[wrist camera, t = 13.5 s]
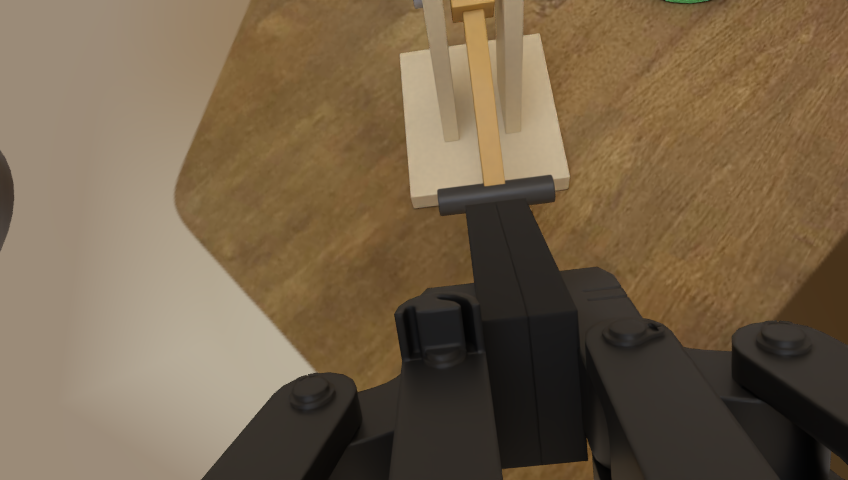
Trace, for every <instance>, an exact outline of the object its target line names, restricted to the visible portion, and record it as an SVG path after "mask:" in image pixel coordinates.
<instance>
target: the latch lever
mask: <svg viewBox="0 0 848 480" xmlns="http://www.w3.org/2000/svg"><path fill="white" fill-rule="evenodd" d="M450 4H451V12H452V20H453V23H456V22H463V23H464V31H465V39H466V47H467V56H468V64H469V72H470V80H471V88H472V96H473V104H474V113H475V121H476V129H477V137H478V145H479V153H480V161H481V169H482V178H483V183H481V184H473V185H465V186H458V187H450V188H442V189H438V190H437V196H438V205H439V212H440V215H441V216H447V215H455V214H463V213H466V210H465V205H473V204H481V203H489V202H497V201H505V200H513V199H521V198H525V199H526V201H527V203H528V205H534V204H542V203H550V202H554V201H555V185H554V180H553V177H552V175H543V176H535V177H528V178H520V179H512V180H505V177H504V169H503V160H502V152H501V144H500V136H499V128H498V120H497V112H496V103H495V95H494V87H493V79H492V71H491V63H490V55H489V46H488V38H487V30H486V22H485V18H490V17H493V14H494V5H495V0H450Z"/></svg>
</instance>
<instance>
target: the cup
mask: <svg viewBox="0 0 848 480" xmlns="http://www.w3.org/2000/svg"><path fill="white" fill-rule="evenodd" d="M665 1H669V2H678V3H696V2H703V1H708V0H665Z"/></svg>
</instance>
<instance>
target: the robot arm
mask: <svg viewBox="0 0 848 480" xmlns="http://www.w3.org/2000/svg"><path fill="white" fill-rule="evenodd" d="M465 210H466V218H467V226H468V235H469V243H470V251H471V260H472V268H473V276H474V283H470V284H461V285H453V286H444V287H436V288H427V289H426V290H425V291H424V292H423V293H422V294H421V295H420V296H418V297H415V298H412V299H410V300H408V301H406V302H405V303H403V304H402V305H400V306H399V307H398V309H397V310H396V312H395V314H394V315H395V321H396V327H397V333H398V339H399V345H400V351H401V357H402V368H401V374H400V375H399V376H397V377H396V378H394V379H393V380H391V381H389V382H387V383H385V384H382V385H379V386H377V387H374V388H371V389H367V390H364V391H361V392H357V387H356V385H355V383H354V381H353V379H351V378H349V377H347V376H345V375H344V374H337V373H331V372H329V373H313V374H308V376H306V375H305V376H301V377H299V378H297V379H296V380H294V381H292V382H290V383H288V384H286V385H284V386H283V387H281V388H280V389H279V390H278V391H277V392H276V393H274V394H273V395H272V396H271V398H270V399H269V400H268V401H267V402H266V404H265V405H264V406H263V407H262V408H261V410H260V411H259V412H258V413H257V414H256V415H255V417H254V418H253V419H252V420H251V421H250V422H249V424H248V425H247V426H246V427H245V428H244V430H243V431H242V432H241V433H240V434H239V436H238V437H237V438H236V439H235V440H234V441H233V443H232V444H231V445H230V446H229V447H228V449H227V450H226V451H225V452H224V453H223V454H222V456H221V457H220V458H219V459H218V460H217V462H216V463H215V464H214V465H213V466H212V467H211V469H210V470H209V471H208V472H207V473H206V475H205V476H204V477H203V478H202V479H201V480H503V476H502V469H507V468H517V467H527V466H538V465H548V464H558V463H569V462H579V461H588V453H587V439H588V442H589V445H590V448H591V451H592V458H593V473H594V480H845V479H843V478H841V477H840V476H838V475H837V474H836V473H835V472H833V471H832V470H831V469H830V460H831V451H832V452H833V453H835V454H836V455H837V456H839V457H840V458H841V459H842V460H843V461H844V462H845V463H846V464H847V465H848V345H846V344H844V343H842V342H840V341H839V340H837V339H835V338H833V337H831V336H829V335H827V334H825V333H823V332H821V331H818V330H816V329H813V328H811V327H808V326H803V325H798V324H793V323H792V322H789V321H779V322H777V321H765V322H762V323H754V324H750V325H747V326H744V327H742V328H739V329H738V330H737V331H736V332H735V333H734V334H733V335H732V351H714V350H700V349H691V348H686V347H683V346H682V345H681V343H680V342H679V341H678V339H677V338H676V336H675V335H674V334H673V332H672V331H671V330H670V329H668V328H667V327H666V326H665V325H663V324H661V323H659V322H656V321H653V320H650V319H645V318H642V316H641V315H640V313H639V312H638V310H637V309H636V307H635V306H634V304H633V303H632V301H631V300H630V298H629V297H627V294H626V292H625V291H624V289H623V288H621V285H620V284H619V282H618V281H617V279H616V278H615V276H614V275H613V274H611V273H609V272H607V271H605V270H603V269H601V268H599V267H590V268H582V269H573V270H565V271H559V269H558V267H557V265H556V263H555V261H554V259H553V257H552V254H551V252H550V250H549V248H548V246H547V244H546V242H545V239H544V237H543V235H542V233H541V231H540V229H539V226H538V224H537V222H536V220H535V218H534V216H533V214H532V211H531V209H530V207H529V205H528V203H527V201H526V199H525V198H521V199H513V200H505V201H497V202H489V203H481V204H473V205H465ZM586 436H587V439H586Z"/></svg>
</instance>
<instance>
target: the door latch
mask: <svg viewBox="0 0 848 480" xmlns="http://www.w3.org/2000/svg"><path fill="white" fill-rule="evenodd" d="M413 1H414V7H415V8H416V9H417V8H423V10H424V16H425V22H426V29H427V35H428V41H429V48H430V49H428V50H421V51H414V52H407V53H400V66H401V78H402V91H403V104H404V117H405V130H406V142H407V155H408V168H409V181H410V193H411V200H412V203H413V207H414V208H422V207H430V206H438V196H437V190H438V189H442V188H450V187H458V186H465V185H473V184H481V183H483V178H482V169H481V161H480V153H479V145H478V137H477V129H476V121H475V113H474V104H473V96H472V88H471V80H470V72H469V64H468V56H467V47H466V44H462V45H455V46H448V40H447V32H446V24H445V16H444V7H443V0H413ZM523 20H524V0H495V24H496V40H490V41H488V46H489V55H490V63H491V71H492V79H493V87H494V95H495V103H496V112H497V120H498V128H499V136H500V144H501V152H502V160H503V169H504V177H505V180H512V179H520V178H528V177H535V176H543V175H552V177H553V180H554V185H555V191H556V190H564V189H568V186H569V180H570V174H569V170H568V165H567V160H566V156H565V151H564V146H563V141H562V137H561V132H560V127H559V122H558V118H557V113H556V108H555V103H554V99H553V94H552V89H551V84H550V80H549V75H548V70H547V65H546V61H545V56H544V51H543V47H542V42H541V37H540V34H539V33H538V34H531V35H524V36H523Z"/></svg>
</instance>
